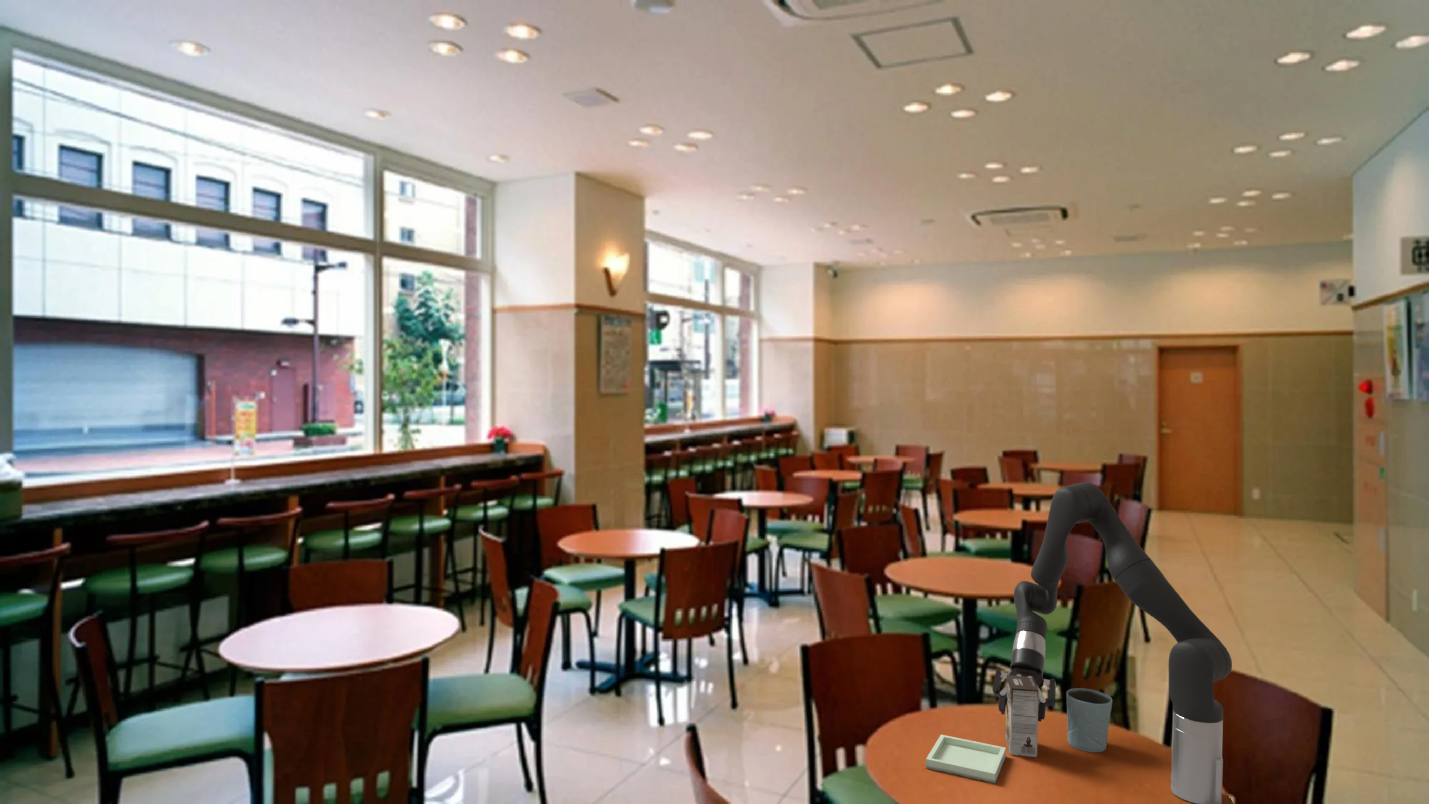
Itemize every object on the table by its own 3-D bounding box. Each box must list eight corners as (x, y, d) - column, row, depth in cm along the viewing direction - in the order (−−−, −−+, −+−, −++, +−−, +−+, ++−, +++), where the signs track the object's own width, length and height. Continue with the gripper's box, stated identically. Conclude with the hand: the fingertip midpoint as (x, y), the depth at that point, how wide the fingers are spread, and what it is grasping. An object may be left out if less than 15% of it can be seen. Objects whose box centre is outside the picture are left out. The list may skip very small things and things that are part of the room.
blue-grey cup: (1059, 734, 209) (1060, 686, 209) (1102, 736, 208) (1103, 688, 208) (1073, 752, 199) (1074, 702, 199) (1117, 755, 198) (1119, 704, 198)
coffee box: (1004, 738, 206) (1005, 673, 206) (1031, 741, 205) (1033, 676, 205) (1009, 755, 197) (1011, 687, 197) (1038, 757, 196) (1040, 689, 196)
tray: (1005, 756, 197) (1005, 747, 197) (994, 783, 183) (995, 773, 183) (940, 742, 204) (940, 734, 204) (925, 767, 190) (925, 758, 190)
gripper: (996, 642, 211) (987, 703, 201) (1058, 651, 204) (1052, 715, 194) (1000, 657, 215) (991, 717, 206) (1060, 666, 209) (1054, 729, 199)
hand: (1020, 716), depth 200 cm, fingers open, 8 cm apart
